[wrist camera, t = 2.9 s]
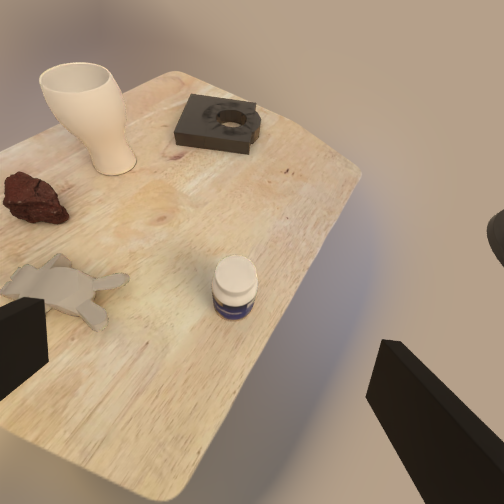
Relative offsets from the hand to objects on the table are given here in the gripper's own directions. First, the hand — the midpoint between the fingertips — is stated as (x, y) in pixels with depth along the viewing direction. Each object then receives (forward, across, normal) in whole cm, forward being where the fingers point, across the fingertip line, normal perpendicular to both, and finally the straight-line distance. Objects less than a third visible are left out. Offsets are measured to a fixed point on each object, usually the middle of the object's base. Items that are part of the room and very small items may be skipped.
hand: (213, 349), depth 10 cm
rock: (+34, -34, 0) cm, 48 cm away
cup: (+43, -27, +9) cm, 51 cm away
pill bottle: (+24, 0, -10) cm, 26 cm away
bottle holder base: (+54, -9, +20) cm, 58 cm away
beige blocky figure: (+23, -22, -11) cm, 34 cm away
